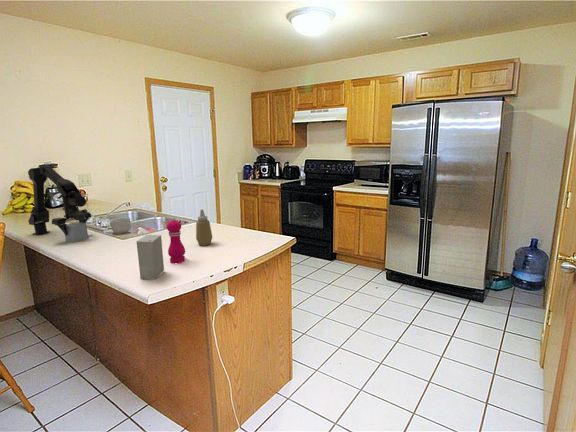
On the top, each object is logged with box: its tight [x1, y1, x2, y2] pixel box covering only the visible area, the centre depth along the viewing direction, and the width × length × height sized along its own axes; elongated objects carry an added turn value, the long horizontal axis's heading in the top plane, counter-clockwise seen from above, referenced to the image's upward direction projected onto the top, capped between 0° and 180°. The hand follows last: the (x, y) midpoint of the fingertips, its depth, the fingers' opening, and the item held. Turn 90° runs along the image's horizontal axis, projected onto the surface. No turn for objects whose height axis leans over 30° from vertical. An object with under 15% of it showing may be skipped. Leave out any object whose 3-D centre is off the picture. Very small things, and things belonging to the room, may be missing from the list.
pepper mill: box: [166, 216, 186, 265], centre depth 148 cm, size 7×7×20 cm
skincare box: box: [136, 234, 165, 280], centre depth 133 cm, size 8×7×16 cm
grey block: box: [64, 221, 89, 243], centre depth 186 cm, size 8×8×9 cm
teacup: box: [109, 216, 132, 235], centre depth 200 cm, size 14×11×8 cm
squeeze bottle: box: [195, 209, 213, 247], centre depth 171 cm, size 8×8×18 cm
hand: (74, 233), depth 187 cm, fingers open, 9 cm apart
